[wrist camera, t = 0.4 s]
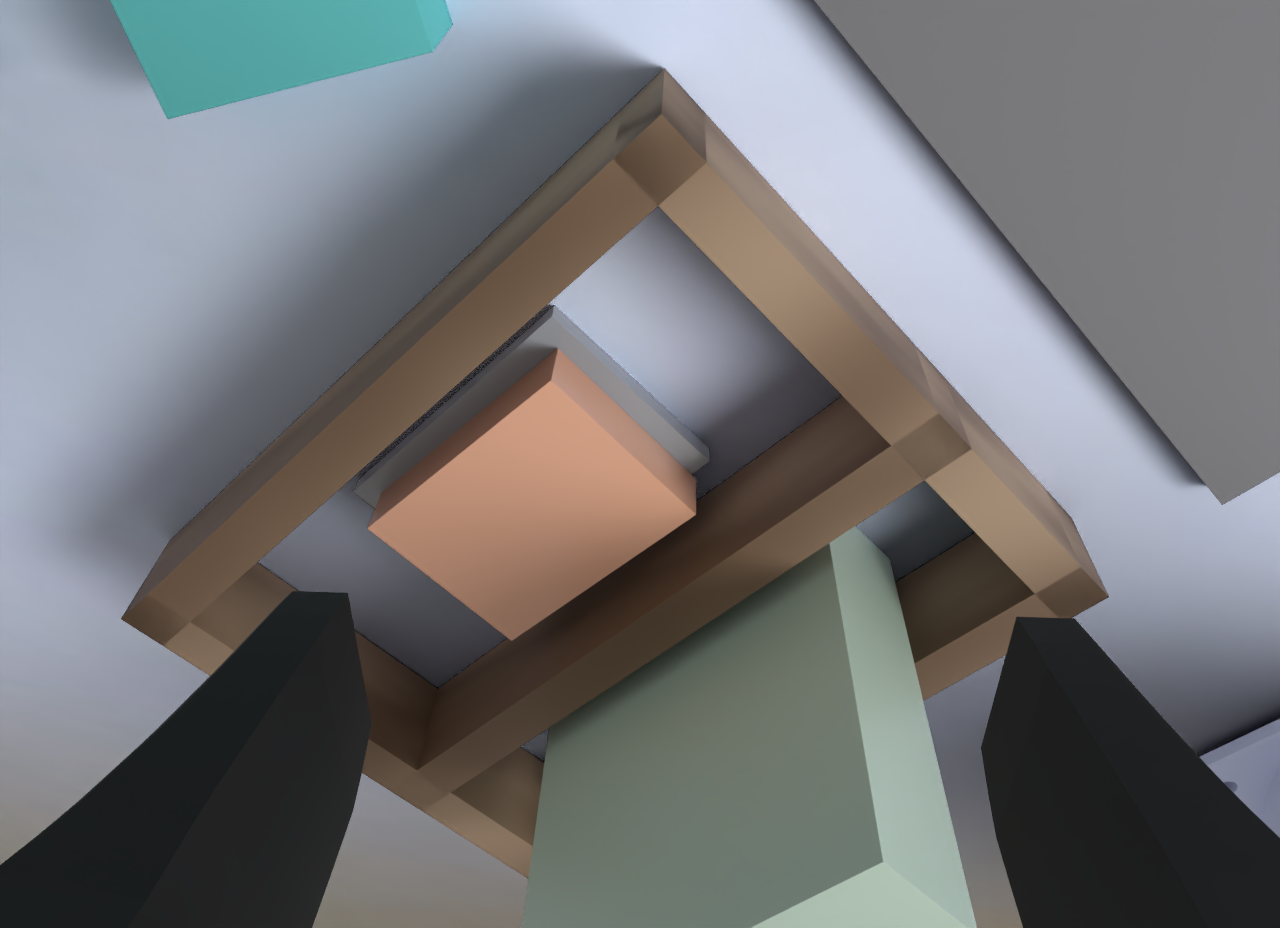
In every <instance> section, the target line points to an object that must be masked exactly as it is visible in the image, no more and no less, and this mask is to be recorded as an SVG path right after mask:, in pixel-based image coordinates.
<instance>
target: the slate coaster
mask: <svg viewBox="0 0 1280 928" xmlns="http://www.w3.org/2000/svg"><path fill="white" fill-rule="evenodd" d="M556 349H559V350H560V351H562V352H563V353H564V354H565V355H566V356H567V357H568V358H569V359H570V360H571V361H572V362H573V363H574V364H575V365H576V366H577V367H578V368H579V369H581V370H582V371H583V372H584V373H585V374H586V375H587V376H588V377H589V378H590V379H591V380H592V381H593V382H594V383H595V384H596V385H597V386H598V387H600V388H601V389H602V390H603V391H604V392H605V393H606V394H607V395H608V396H609V397H610V398H611V399H612V400H613V401H614V402H615V403H616V404H617V405H619V406H620V407H621V408H622V409H623V410H624V411H625V412H626V413H627V414H628V415H629V416H630V417H631V418H632V419H633V420H634V421H635V422H636V423H638V424H639V425H640V426H641V427H642V428H643V429H644V430H645V431H646V432H647V433H648V434H649V435H650V436H651V437H652V438H653V439H654V440H655V441H657V442H658V443H659V444H660V445H661V446H662V447H663V448H664V449H665V450H666V451H667V452H668V453H669V454H670V455H671V456H672V457H673V458H674V459H675V460H677V461H678V462H679V463H680V464H681V465H682V466H683V467H684V468H685V469H686V470H687V471H688V472H689V473H690V474H691V475H692V474H693V473H695V472H696V471H697V470H699V469H700V468H701V467H703V466H704V465H705V464H707V463H708V462H709V461H710V460H709V448H708V447H707V446H706V445H705V444H704V443H703V442H702V441H701V440H700V439H699V438H697V437H696V436H695V435H694V434H693V433H692V432H691V431H690V430H689V429H688V428H687V427H686V426H684V425H683V424H682V423H681V422H680V421H679V420H678V419H677V418H676V417H675V416H674V415H673V414H672V413H670V412H669V411H668V410H667V409H666V408H665V407H664V406H663V405H662V404H661V403H660V402H659V401H657V400H656V399H655V398H654V397H653V396H652V395H651V394H650V393H649V392H648V391H647V390H646V389H645V388H643V387H642V386H641V385H640V384H639V383H638V382H637V381H636V380H635V379H634V378H633V377H632V376H630V375H629V374H628V373H627V372H626V371H625V370H624V369H623V368H622V367H621V366H620V365H619V364H617V363H616V362H615V361H614V360H613V359H612V358H611V357H610V356H609V355H608V354H607V353H606V352H605V351H603V350H602V349H601V348H600V347H599V346H598V345H597V344H596V343H595V342H594V341H593V340H592V339H590V338H589V337H588V336H587V335H586V334H585V333H584V332H583V331H582V330H581V329H580V328H579V327H578V326H576V325H575V324H574V323H573V322H572V321H571V320H570V319H569V318H568V317H567V316H566V315H565V314H563V313H562V312H561V311H560V310H559V309H558V308H557V307H556V306H555V305H554V306H553V307H552V308H551V309H550V310H549V311H548V312H546V313H545V314H544V315H543V316H542V317H541V318H540V319H539V320H537V321H536V322H535V323H534V324H533V325H532V326H531V327H530V328H528V329H527V330H526V331H525V332H524V333H523V334H522V335H521V336H519V337H518V338H517V339H516V340H515V341H514V342H513V343H512V344H510V345H509V346H508V347H507V348H506V349H505V350H504V351H503V352H501V353H500V354H499V355H498V356H497V357H496V358H495V359H494V360H492V361H491V362H490V363H489V364H488V365H487V366H486V367H485V368H483V369H482V370H481V371H480V372H479V373H478V374H477V375H476V376H474V377H473V378H472V379H471V380H470V381H469V382H468V383H467V384H465V385H464V386H463V387H462V388H461V389H460V390H459V391H458V392H456V393H455V394H454V395H453V396H452V397H451V398H450V399H448V400H447V401H446V402H445V403H444V404H443V405H442V406H441V407H439V408H438V409H437V410H436V411H435V412H434V413H433V414H432V415H430V416H429V417H428V418H427V419H426V420H425V421H424V422H423V423H421V424H420V425H419V426H418V427H417V428H416V429H415V430H414V431H412V432H411V433H410V434H409V435H408V436H407V437H406V438H405V439H403V440H402V441H401V442H400V443H399V444H398V445H397V446H396V447H394V448H393V449H392V450H391V451H390V452H389V453H388V454H387V455H385V456H384V457H383V458H382V459H381V460H380V461H379V462H378V463H376V464H375V465H374V466H373V467H372V468H371V469H370V470H369V471H367V472H366V473H365V474H364V475H363V476H362V477H361V478H360V479H359V480H358V482H357V485H356V487H355V489H354V493H355V494H356V495H358V496H359V497H360V498H362V499H363V500H364V501H366V502H367V503H368V504H369V505H371V506H372V507H373V508H375V507H376V505H377V502H378V500H379V497H380V495H381V493H382V492H383V491H385V490H386V489H387V488H388V487H389V486H391V485H392V484H393V483H394V482H395V481H397V480H398V479H399V478H400V477H402V476H403V475H404V474H405V473H406V472H408V471H409V470H410V469H411V468H412V467H414V466H415V465H416V464H417V463H419V462H420V461H421V460H422V459H423V458H425V457H426V456H427V455H428V454H429V453H431V452H432V451H433V450H434V449H436V448H437V447H438V446H439V445H440V444H442V443H443V442H444V441H445V440H447V439H448V438H449V437H450V436H451V435H453V434H454V433H455V432H456V431H458V430H459V429H460V428H461V427H462V426H464V425H465V424H466V423H467V422H469V421H470V420H471V419H472V418H473V417H475V416H476V415H477V414H478V413H479V412H481V411H482V410H483V409H484V408H486V407H487V406H488V405H489V404H490V403H492V402H493V401H494V400H495V399H497V398H498V397H499V396H500V395H501V394H503V393H504V392H505V391H506V390H508V389H509V388H510V387H511V386H512V385H514V384H515V383H516V382H517V381H519V380H520V379H521V378H522V377H523V376H525V375H526V374H527V373H528V372H529V371H531V370H532V369H533V368H534V367H536V366H537V365H538V364H539V363H540V362H542V361H543V360H544V359H545V358H547V357H548V356H549V355H550V354H551V353H553V352H554V351H555V350H556Z"/></svg>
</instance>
